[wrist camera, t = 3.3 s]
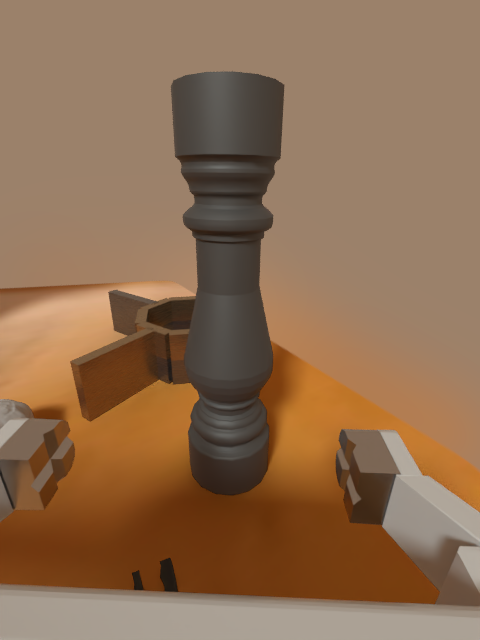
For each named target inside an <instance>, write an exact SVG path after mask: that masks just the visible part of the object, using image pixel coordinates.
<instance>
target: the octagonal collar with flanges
mask: <svg viewBox="0 0 480 640" xmlns="http://www.w3.org/2000/svg"><path fill="white" fill-rule="evenodd" d="M108 293H109V299H110V306H111V312H112V319H113V325H114V330H115V331H117V332H120V333H122V334H125V335H128V336H127V337H125V338H123V339H121V340H118V341H116V342H114V343H111V344H109V345H107V346H104V347H102V348H100V349H98V350H95V351H93V352H91V353H88V354H86V355H84V356H82V357H79V358H77V359H75V360H72V361H70V362H71V367H72V371H73V376H74V380H75V385H76V390H77V394H78V399H79V403H80V408H81V412H82V417H84V418H86V419H87V420H89V421H91V420H93V419H95V418H96V417H98V416H100V415H101V414H103V413H105V412H106V411H108V410H109V409H111V408H113V407H114V406H116V405H118V404H119V403H121V402H122V401H124V400H126V399H127V398H129V397H131V396H132V395H134V394H136V393H137V392H139V391H140V390H142V389H144V388H145V387H147V386H149V385H150V384H152V383H153V382H155V381H157V380H158V379H159V380H162V381H164V382H166V383H168V384H169V383H171V382H173V384H182V383H191V382H190V381H189V378H188V376H187V373H186V369H185V366H184V354H185V349H186V344H187V339H188V335H189V330H190V324H191V319H192V314H193V309H194V304H195V299H196V296H191V297H173V298H169V299H167V298H165V299H163V300H160V301H153V300H150V299H146V298H143V297H139V296H135V295H132V294H128V293H125V292H121V291H118V290H113V291H110V292H108Z"/></svg>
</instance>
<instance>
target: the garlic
mask: <svg viewBox="0 0 480 640" xmlns="http://www.w3.org/2000/svg"><path fill="white" fill-rule="evenodd" d="M14 418H29V419H32V418H34V416H33V413H32V411H31V409H30V407H29V406H28V405H26V404H25V403H22V402H17V401H14V400H9V399H7V400H6V399H0V429H1V428H2V427H3V426H4V425H5V424H6V423H7V422H8V421H9V420H11V419H14Z"/></svg>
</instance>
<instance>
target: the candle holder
mask: <svg viewBox="0 0 480 640" xmlns="http://www.w3.org/2000/svg"><path fill="white" fill-rule="evenodd" d="M171 93H172V94H171V95H172V111H173V127H174V144H175V157H176V158H177V159H179V160H180V162H181V165H182V168H181V173H182V175H183V177H184V178H185V180H186V181H187V183H188V185H189V189H190V192H191V193H192V194H193V195H194V198H195V203H194V205H193V206H192V207H191V208H189V209H188V210H187V211H186V212H185V213H184V214H183V222H184V225H185V226H186V227H187V228H189V229H190V230H191V231H192V234H193V237H194V238H196V250H197V251H196V253H197V275H198V276H197V277H198V288H197V293H196V299H195V304H194V309H193V314H192V319H191V324H190V330H189V335H188V339H187V344H186V349H185V354H184V366H185V369H186V373H187V376H188V378H189V381H190V382H191V384H192V385H193V387H194V388H195V389H196V390H197V391H198V394H199V397H200V398H199V400H198V401H197V402H196V403H195V405H194V407H193V410H192V413H191V421H192V422H191V425H190V428H189V431H188V437H189V452H190V465H191V470H192V475H193V477H194V478H195V480H196V481H197V482H198V483H199V484H200V486H201V487H203V488H205V489H207V490H209V491H211V492H213V493H215V494H223V495H235V494H239V493H243V492H247V491H249V490H251V489H252V488H253V487H255V486H256V485H257V484H259V483H260V482H261V481H262V479H263V477H264V475H265V473H266V472H267V462H268V445H269V426H268V424H267V410H266V408H265V407H264V405H263V403H262V402H261V400H260V399H258V397H259V393H260V390H261V389H262V387H263V386H264V385H265V384H266V382H267V381H268V379H269V378H270V375H271V373H272V368H273V352H272V347H271V342H270V337H269V333H268V328H267V323H266V317H265V313H264V307H263V302H262V298H261V293H260V287H259V276H260V245H261V239H262V238H264V231H267V230H269V229H270V228H271V227H272V224H273V214H272V213H271V212H270V211H269V210H268V209H266V208H265V207H264V206H263V204H262V196H263V195H264V194H265V193H266V191H267V186H268V184H269V182H270V181H271V179H272V178H273V176H274V173H275V171H274V165H275V163H276V162H277V160H279V159H280V156H281V136H282V117H283V100H284V99H283V97H284V85H283V84H282V83H281V82H279V81H277V80H276V79H273V78H270V77H266V76H262V75H259V74H251V73H241V72H204V73H197V74H191V75H185V76H183V77H181V78H178V79H176V80H174V81H173V83H172V85H171Z"/></svg>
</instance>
